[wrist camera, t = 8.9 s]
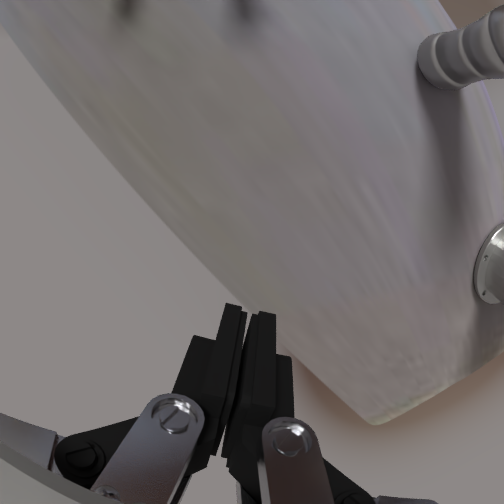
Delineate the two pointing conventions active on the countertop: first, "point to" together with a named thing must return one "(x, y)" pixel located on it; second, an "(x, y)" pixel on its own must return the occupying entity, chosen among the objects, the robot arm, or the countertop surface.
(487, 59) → the plastic bottle
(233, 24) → the countertop surface
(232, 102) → the countertop surface
